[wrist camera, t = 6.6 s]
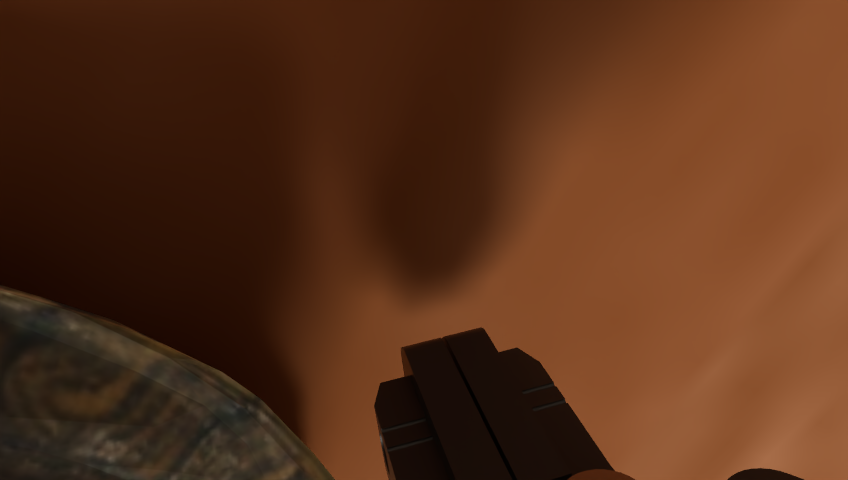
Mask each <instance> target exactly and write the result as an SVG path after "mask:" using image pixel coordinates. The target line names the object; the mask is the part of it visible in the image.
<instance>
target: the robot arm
mask: <svg viewBox="0 0 848 480" xmlns="http://www.w3.org/2000/svg"><path fill="white" fill-rule="evenodd" d="M401 356H402V363H403V369H404V376H405V377H402V378H398V379H394V380H390V381H386V382H382V383H380V386H379V390H378V394H377V397H376V401H375V405H374V407H375V413H376V418H377V423H378V429H379V434H380V440H381V445H382V451H383V456H384V462H385V467H386V471H387V475H388V478H389V480H635V479H633V478H632V477H630V476H628V475H625V474H623V473H620V472H616V471H614V469H613V468H612V467H611V466H610V464H609V463H608V461H607V460H606V458H605V457H604V455H603V454H602V452H601V451H600V450H599V448H598V447H597V445H596V444H595V442H594V441H593V439H592V438H591V436H590V435H589V433H588V432H587V431H586V429H585V428H584V426H583V425H582V423H581V422H580V420H579V419H578V417H577V416H576V414H575V413H574V412H573V410H572V409H571V407H570V406H569V404H568V403H566V402H565V398H564V397H563V395H562V394H561V392H560V391H559V390H558V388H557V387H556V386H554V382H553V381H552V379H551V378H550V376H549V375H548V373H547V372H546V371H545V369H544V368H543V366H542V365H541V363H540V362H539V361H537V360H536V359H534V358H532V357H531V356H529V355H528V354H526V353H525V352H523V351H522V350H520V349H518V348H514V349H510V350H506V351H502V352H498V351H497V349H496V348H495V346H494V344H493V343H492V341H491V339H490V338H489V336H488V334H487V333H486V331H485V330H484V329H483V328H477V329H473V330H469V331H465V332H461V333H457V334H453V335H449V336H445V337H443V338H437V339H433V340H429V341H425V342H421V343H417V344H413V345H409V346H405V347H402V348H401ZM728 480H804V479H801V478H798V477H796V476H793V475H790V474H787V473H784V472H781V471H777V470H772V469H762V468H758V469H748V470H743V471H741V472H738V473H736V474H734V475H733V476H731V477H730V478H729V479H728Z"/></svg>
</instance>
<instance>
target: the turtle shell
mask: <svg viewBox="0 0 848 480" xmlns="http://www.w3.org/2000/svg"><path fill="white" fill-rule="evenodd" d="M0 480H335V479H334V478H333V477H332V476H331V474H330V473H329V472H328V471H327V469H326V468H325V467H324V466H323V465H322V463H321V462H320V461H319V460H318V458H317V457H316V456H315V455H314V454H313V452H312V451H311V450H310V449H309V448H308V447H307V446H306V445H305V444H304V443H303V442H302V441H301V440H300V439H299V438H298V437H297V436H296V435H295V434H294V433H293V432H292V431H291V430H290V429H289V428H288V427H287V426H286V425H285V424H284V422H283V421H282V420H281V419H280V418H279V417H278V416H277V415H276V414H275V413H274V412H273V411H272V410H271V409H270V408H269V407H268V406H267V405H266V404H265V403H264V402H263V401H262V400H261V399H260V398H259V397H257V396H256V395H254V394H253V393H252V392H250V391H249V390H247V389H246V388H244V387H243V386H241V385H240V384H239V383H237V382H236V381H234V380H233V379H231V378H230V377H228V376H227V375H226V374H224V373H223V372H221V371H219V370H217V369H215V368H213V367H211V366H209V365H207V364H205V363H202V362H200V361H198V360H196V359H194V358H192V357H190V356H188V355H186V354H184V353H182V352H180V351H177V350H175V349H173V348H171V347H169V346H167V345H165V344H163V343H161V342H159V341H156V340H154V339H152V338H150V337H148V336H146V335H144V334H142V333H140V332H137V331H135V330H133V329H131V328H129V327H127V326H125V325H123V324H121V323H118V322H116V321H114V320H112V319H109V318H105V317H102V316H99V315H96V314H93V313H90V312H87V311H84V310H81V309H77V308H74V307H71V306H68V305H65V304H62V303H59V302H56V301H53V300H49V299H46V298H43V297H40V296H36V295H33V294H30V293H26V292H23V291H20V290H16V289H13V288H10V287H6V286H3V285H0Z"/></svg>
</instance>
